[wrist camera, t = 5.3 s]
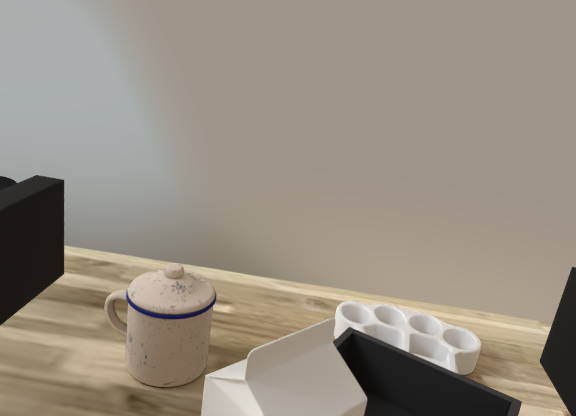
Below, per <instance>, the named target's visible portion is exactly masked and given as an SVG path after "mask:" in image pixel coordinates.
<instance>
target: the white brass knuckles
mask: <svg viewBox="0 0 576 416" xmlns="http://www.w3.org/2000/svg"><path fill="white" fill-rule="evenodd" d="M335 321H336V324H335V329H334V334H333V335H334V337H335V338H336V339H337V338H338V337H339V336H340V335H341V334H342V333H343V332H344V331H345V330H346V329H347V328H348V327H351V328H353V329H355V330H358V331H360V332H363V333H365V334H367V335H370V336H372V337H374V338H377V339H379V340H381V341H384V342H386V343H388V344H390V345H393V346H395V347H397V348H400V349H402V350H404V351H407V352H409V353H411V354H413V355H416V356H418V357H420V358H423V359H425V360H427V361H430V362H432V363H434V364H436V365H439V366H441V367H443V368H446V369H448V370H450V371H453V372H455V373H457V374H459V375H466V374H469V373H471V372H473V370H474V369H475V366H476V363H477V360H478V357H479V353H480V350H481V341H480V340H479V338H478V337H477V336H476V335H475V334H474V333H472V332H471V331H469V330H468V329H466V328H464V327H457V326H453V325H450V324H447V323H444V322H442V321H440V320H439V319H437V318H436V317H434V316H431V315H429V314H426V313H423V312H415V311H409V310H405V309H402V308H400V307H398V306H395V305H386V304H380V305H367V304H363V303H359V302H356V301H347V302H343V303H341V304H340V305H339V306H338V307H337V309H336V314H335Z"/></svg>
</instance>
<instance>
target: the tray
mask: <svg viewBox="0 0 576 416" xmlns="http://www.w3.org/2000/svg"><path fill="white" fill-rule="evenodd" d="M333 344H334V345H335V347H336V349H337V350H338V352H339V353H340V355H341V357H342V358H343V360H344V361H345V363H346V364H347V366H348V368H349V369H350V371H351V372H352V374H353V376H354V377H355V379H356V380H357V382H358V384H359V385H360V387H361V388H362V390H363V392H364V393H365V395H366V397H367V404H366V409H365V413H364V416H518V414H519V410H520V407H521V403H522V402H521V401H519V400H517V399H515V398H512V397H510V396H508V395H506V394H503V393H501V392H499V391H496V390H494V389H492V388H489V387H487V386H485V385H483V384H480V383H478V382H476V381H473V380H471V379H469V378H466V377H464V376H462V375H459V374H457V373H455V372H453V371H450V370H448V369H446V368H443V367H441V366H439V365H436V364H434V363H432V362H430V361H427V360H425V359H423V358H420V357H418V356H416V355H413V354H411V353H409V352H407V351H404V350H402V349H400V348H397V347H395V346H393V345H390V344H388V343H386V342H384V341H381V340H379V339H377V338H374V337H372V336H370V335H367V334H365V333H363V332H360V331H358V330H355V329H353V328H351V327H348V328H347V329H346V330H345V331H344V332H343V333H342V334H341V335H340V336H339V337H338V338H337V339H336V340H335V341H333Z"/></svg>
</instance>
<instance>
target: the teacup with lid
mask: <svg viewBox="0 0 576 416" xmlns="http://www.w3.org/2000/svg"><path fill="white" fill-rule="evenodd" d="M115 299H121V300H125V301H128V318H127V325H126V324H125V323H123V322H122V321H121V320H120V319H119V318H118V316H117V314H116V312H115V308H114V301H115ZM215 301H216V292H215V289H214V287H213V285H212V284H211V282H210V281H208V280H207V279H206V278H204V277H203V276H201V275H199V274H196V273H193V272H190V271H185V270H184V268H183V266H182V265H180V264H178V263H169V264H167V265H166V266H165V267H164V269H162V270H155V271H150V272H147V273H144V274H142V275H140V276H138V277H137V278H135V279H134V280H133V281H132V282H131V284H130V285H129V287H128V289H127V291H125V290H118V291H115V292H113V293H112V294H110V295H109V296H108V297H107V299H106V301H105V305H104V309H105V315H106V318H107V320H108V322H109V323H110V325H111V326H112V327H113V328H114V329H115V330H116V331H118V332H119V333H121V334H124V335H126V336H127V340H126V367H127V369H128V371H129V373H130V374H131V375H132V376H133V377H134V378H135V379H137V380H138V381H140V382H142V383H145V384H148V385H152V386H157V387H173V386H179V385H183V384H186V383H189V382H191V381H193V380H194V379H196V378H197V377H198V376H200V375H201V374H202V372H203V371H204V369H205V368H206V365H207V359H208V349H209V340H210V330H211V321H212V311H213V305H214V303H215Z"/></svg>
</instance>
